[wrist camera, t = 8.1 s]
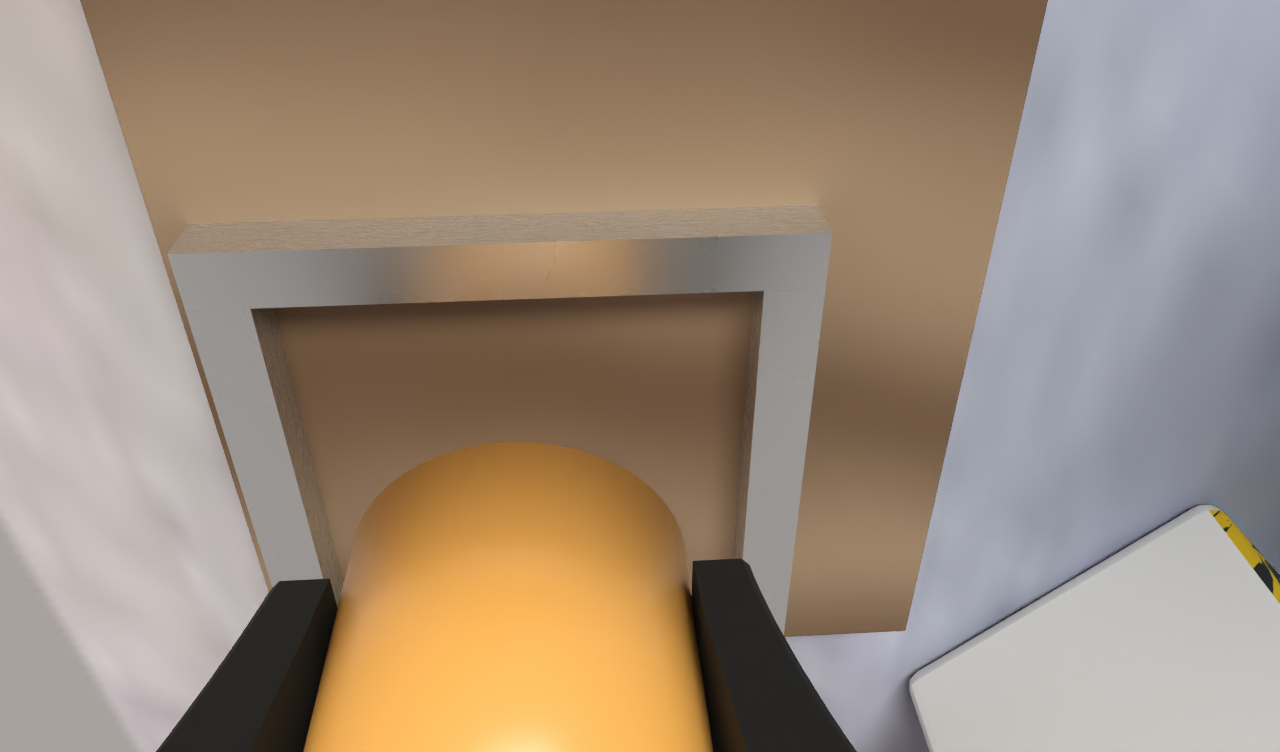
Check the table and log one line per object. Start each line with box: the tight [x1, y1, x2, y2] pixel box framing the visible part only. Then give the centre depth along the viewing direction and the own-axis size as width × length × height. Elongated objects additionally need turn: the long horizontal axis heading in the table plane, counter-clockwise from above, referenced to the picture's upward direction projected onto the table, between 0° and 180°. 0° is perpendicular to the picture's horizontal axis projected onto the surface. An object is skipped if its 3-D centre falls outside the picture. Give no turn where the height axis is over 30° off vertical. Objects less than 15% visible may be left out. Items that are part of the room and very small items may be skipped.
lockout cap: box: [303, 442, 713, 752], centre depth 11 cm, size 4×4×5 cm
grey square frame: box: [167, 205, 832, 635], centre depth 15 cm, size 8×8×1 cm
